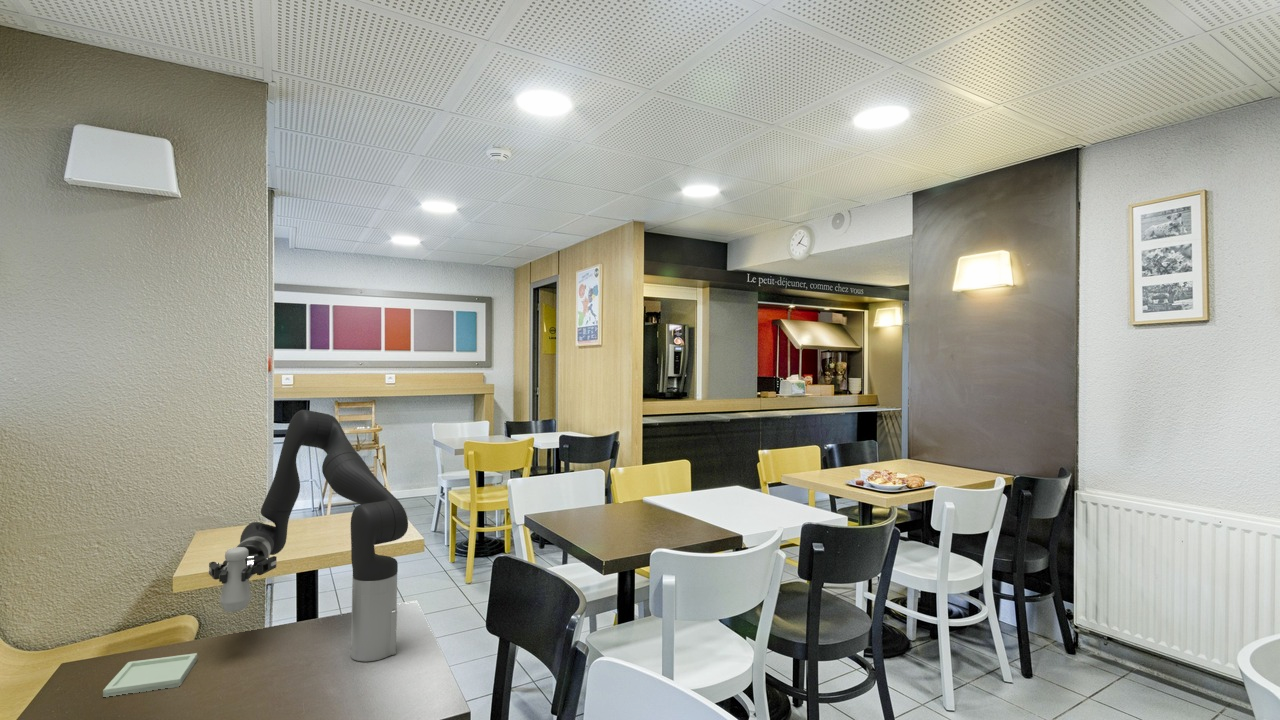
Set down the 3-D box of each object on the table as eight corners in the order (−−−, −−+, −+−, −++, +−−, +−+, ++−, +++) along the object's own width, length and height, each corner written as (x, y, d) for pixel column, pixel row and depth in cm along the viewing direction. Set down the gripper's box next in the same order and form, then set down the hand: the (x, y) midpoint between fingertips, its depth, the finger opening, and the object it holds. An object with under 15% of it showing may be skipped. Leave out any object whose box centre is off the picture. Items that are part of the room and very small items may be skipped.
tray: (197, 660, 132) (197, 653, 132) (179, 686, 121) (179, 679, 121) (128, 669, 128) (128, 662, 128) (102, 697, 117) (103, 689, 117)
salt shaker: (235, 614, 131) (236, 553, 131) (212, 612, 132) (213, 551, 132) (257, 604, 136) (258, 545, 137) (235, 602, 138) (236, 544, 138)
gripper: (216, 542, 145) (194, 563, 129) (284, 537, 150) (271, 556, 134) (215, 574, 145) (193, 600, 129) (283, 568, 150) (271, 591, 134)
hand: (233, 577), depth 132 cm, fingers closed on salt shaker, 3 cm apart
